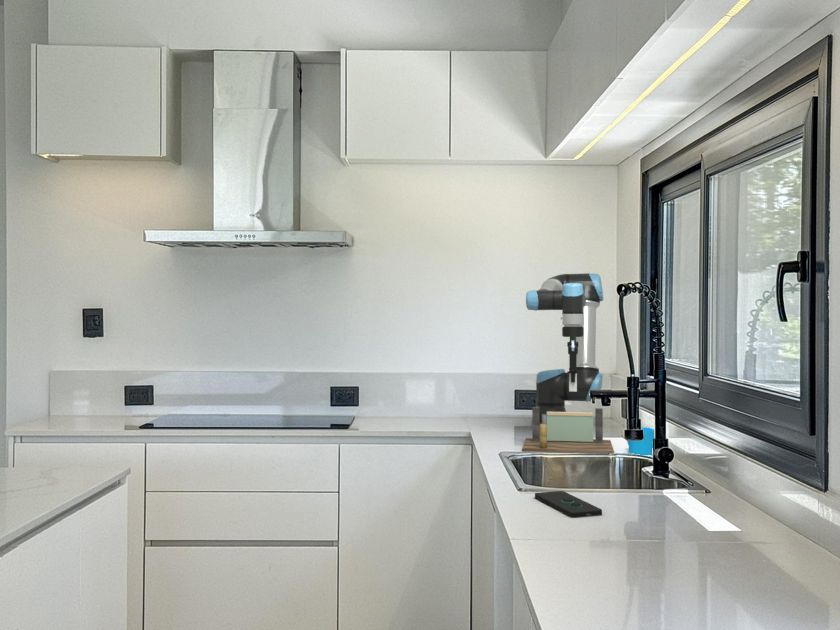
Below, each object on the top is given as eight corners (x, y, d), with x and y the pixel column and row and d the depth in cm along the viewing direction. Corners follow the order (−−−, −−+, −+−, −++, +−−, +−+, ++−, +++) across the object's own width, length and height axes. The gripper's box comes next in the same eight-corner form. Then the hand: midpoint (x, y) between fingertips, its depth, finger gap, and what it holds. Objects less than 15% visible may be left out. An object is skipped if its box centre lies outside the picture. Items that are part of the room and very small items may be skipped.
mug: (659, 455, 245) (659, 430, 245) (638, 456, 242) (638, 431, 242) (637, 449, 256) (637, 425, 256) (617, 450, 254) (617, 426, 254)
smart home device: (571, 512, 169) (533, 492, 188) (571, 520, 169) (533, 499, 188) (604, 509, 171) (563, 490, 190) (604, 517, 171) (563, 496, 190)
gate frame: (525, 440, 275) (525, 404, 275) (610, 442, 269) (610, 406, 269) (522, 451, 252) (521, 412, 252) (614, 454, 246) (613, 414, 247)
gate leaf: (541, 439, 267) (541, 411, 267) (593, 440, 264) (592, 412, 264) (541, 440, 265) (541, 412, 265) (593, 441, 262) (593, 413, 262)
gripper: (562, 325, 278) (562, 389, 278) (562, 326, 266) (562, 392, 265) (583, 325, 277) (583, 389, 277) (583, 326, 264) (584, 393, 264)
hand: (573, 391), depth 271 cm, fingers closed
